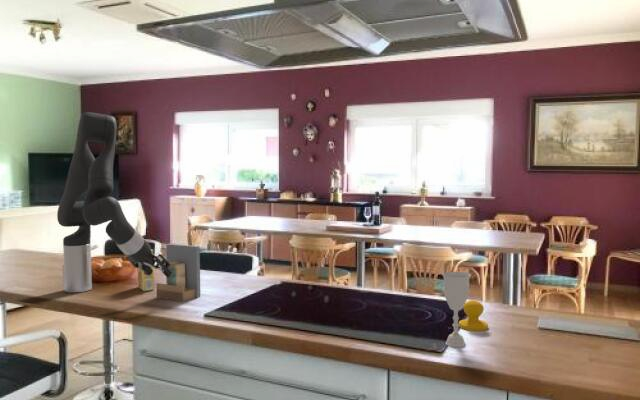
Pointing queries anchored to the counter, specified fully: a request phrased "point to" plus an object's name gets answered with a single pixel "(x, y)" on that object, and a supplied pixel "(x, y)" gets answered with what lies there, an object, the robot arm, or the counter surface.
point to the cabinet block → (176, 274)
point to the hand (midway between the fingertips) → (160, 274)
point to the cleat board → (192, 273)
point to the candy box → (145, 279)
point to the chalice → (456, 301)
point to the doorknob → (473, 317)
